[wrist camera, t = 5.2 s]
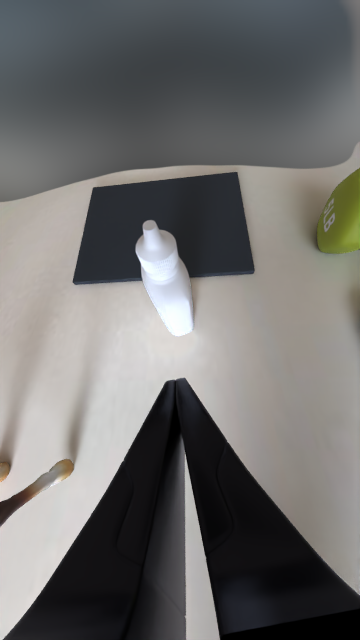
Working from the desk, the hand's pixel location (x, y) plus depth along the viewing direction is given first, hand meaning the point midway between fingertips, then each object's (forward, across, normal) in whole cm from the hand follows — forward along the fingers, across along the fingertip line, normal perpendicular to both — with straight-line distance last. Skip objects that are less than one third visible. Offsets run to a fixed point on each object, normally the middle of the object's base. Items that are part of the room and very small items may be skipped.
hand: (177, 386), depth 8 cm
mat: (+22, 0, -7) cm, 23 cm away
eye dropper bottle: (+13, 0, +2) cm, 13 cm away
